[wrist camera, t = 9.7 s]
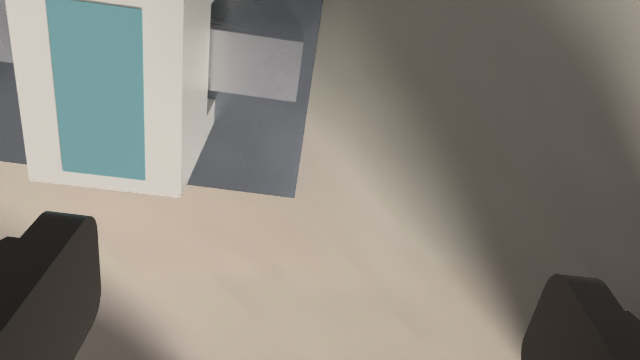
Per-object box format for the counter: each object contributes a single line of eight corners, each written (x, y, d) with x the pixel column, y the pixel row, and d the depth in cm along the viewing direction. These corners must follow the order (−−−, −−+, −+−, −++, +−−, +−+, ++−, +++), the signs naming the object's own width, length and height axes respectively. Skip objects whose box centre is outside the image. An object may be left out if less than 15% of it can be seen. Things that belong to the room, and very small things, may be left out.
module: (221, -35, 19) (183, -6, 14) (214, 123, 22) (180, 199, 17) (90, -54, 19) (-1, -30, 13) (99, 108, 22) (28, 181, 16)
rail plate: (338, -114, 19) (344, -115, 14) (295, 186, 24) (290, 252, 20) (-149, -196, 18) (-303, -223, 13) (-76, 139, 23) (-168, 198, 19)
